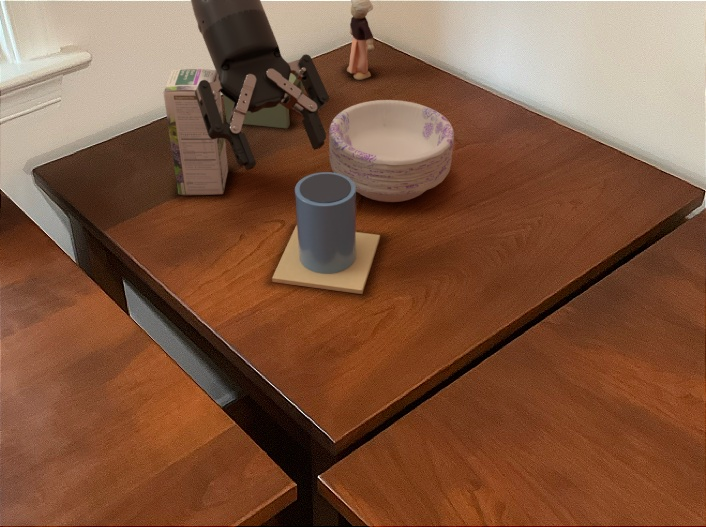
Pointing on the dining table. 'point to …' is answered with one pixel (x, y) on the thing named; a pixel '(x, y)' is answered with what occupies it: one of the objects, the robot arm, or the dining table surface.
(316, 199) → the cup
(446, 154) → the paper bowls
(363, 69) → the grandmother figurine
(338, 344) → the dining table surface
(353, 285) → the mat
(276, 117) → the shelf
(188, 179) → the syrup box
